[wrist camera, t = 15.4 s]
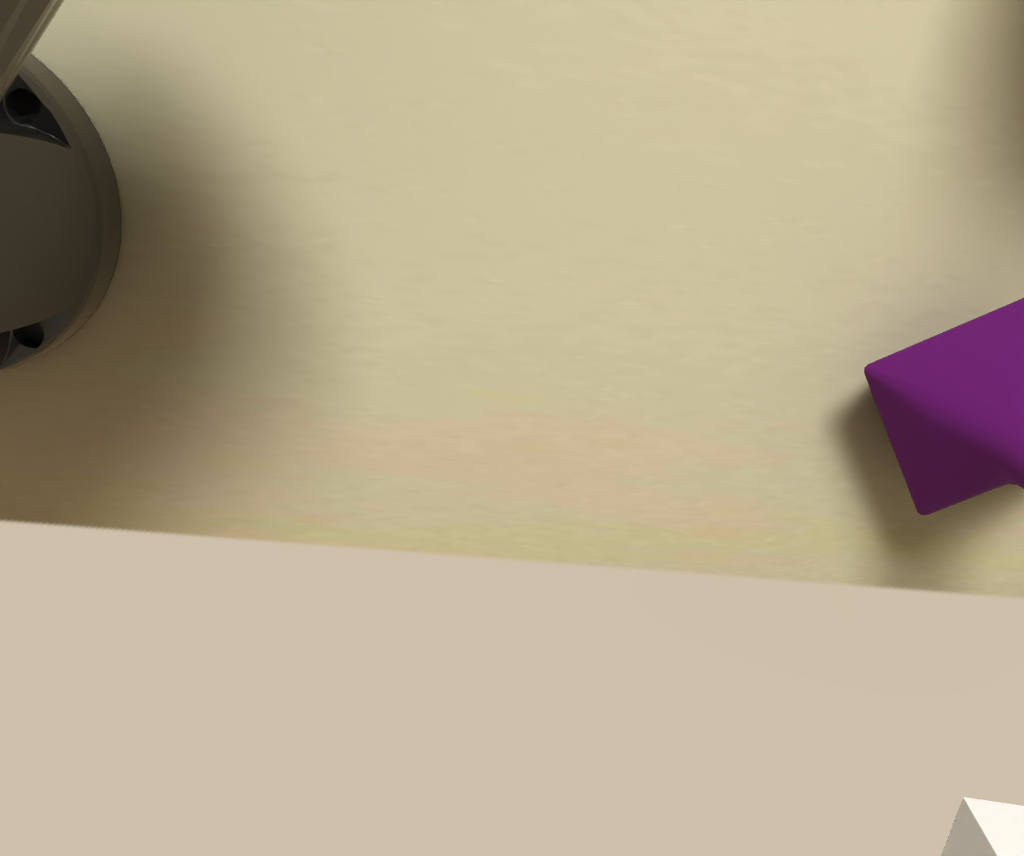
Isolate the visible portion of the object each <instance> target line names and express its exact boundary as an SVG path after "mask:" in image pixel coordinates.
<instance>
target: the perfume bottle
mask: <svg viewBox="0 0 1024 856" xmlns="http://www.w3.org/2000/svg"><path fill="white" fill-rule="evenodd" d="M864 373H865V376H866V379H867V381H868V384H869V386H870V389H871V392H872V394H873V397H874V400H875V402H876V405H877V407H878V410H879V413H880V415H881V418H882V420H883V423H884V426H885V428H886V431H887V433H888V436H889V439H890V441H891V444H892V446H893V449H894V452H895V454H896V457H897V460H898V462H899V465H900V467H901V470H902V473H903V475H904V478H905V480H906V483H907V486H908V488H909V491H910V493H911V496H912V499H913V501H914V504H915V506H916V509H917V512H918V513H919V514H921V515H928V514H931V513H933V512H936V511H938V510H941V509H944V508H946V507H949V506H951V505H954V504H956V503H959V502H961V501H964V500H966V499H969V498H971V497H974V496H977V495H979V494H982V493H984V492H987V491H989V490H992V489H994V488H998V487H1001V486H1004V485H1007V484H1016V485H1019V486H1020V487H1022V488H1023V489H1024V298H1023V299H1020V300H1018V301H1016V302H1013V303H1011V304H1009V305H1006V306H1004V307H1002V308H999V309H997V310H995V311H992V312H990V313H987V314H985V315H983V316H980V317H978V318H976V319H973V320H971V321H969V322H966V323H964V324H962V325H959V326H957V327H955V328H952V329H950V330H948V331H945V332H943V333H941V334H938V335H936V336H934V337H931V338H929V339H927V340H924V341H922V342H920V343H917V344H915V345H913V346H910V347H908V348H905V349H903V350H901V351H898V352H896V353H894V354H891V355H889V356H887V357H884V358H882V359H880V360H877V361H875V362H873V363H870V364H868V365H867V366H866V367H865V370H864Z"/></svg>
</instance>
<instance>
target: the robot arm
mask: <svg viewBox="0 0 1024 856" xmlns="http://www.w3.org/2000/svg"><path fill="white" fill-rule="evenodd" d="M63 1H64V0H0V372H1V371H5V370H8V369H11V368H14V367H17V366H19V365H21V364H24V363H26V362H28V361H30V360H32V359H34V358H36V357H38V356H40V355H42V354H43V353H45V352H47V351H49V350H51V349H53V348H54V347H56V346H58V345H60V344H61V343H62V342H64V341H65V340H67V339H68V338H69V337H71V336H72V335H73V334H74V333H75V332H77V331H78V330H79V329H80V328H81V327H82V326H83V325H84V324H85V322H86V321H87V320H88V319H89V318H90V317H91V315H92V314H93V313H94V311H95V310H96V308H97V307H98V305H99V304H100V302H101V300H102V299H103V297H104V295H105V293H106V291H107V289H108V287H109V284H110V282H111V279H112V276H113V273H114V270H115V266H116V263H117V258H118V253H119V246H120V237H121V212H120V202H119V195H118V189H117V185H116V180H115V176H114V172H113V169H112V166H111V163H110V160H109V157H108V155H107V152H106V150H105V147H104V145H103V143H102V141H101V139H100V136H99V134H98V132H97V131H96V129H95V127H94V125H93V123H92V122H91V120H90V118H89V117H88V115H87V114H86V112H85V110H84V109H83V107H82V106H81V105H80V103H79V102H78V101H77V99H76V98H75V97H74V95H73V94H72V93H71V92H70V91H69V89H68V88H67V87H66V86H65V85H64V84H63V82H62V81H61V80H60V79H59V78H58V77H57V76H56V75H55V74H54V73H53V72H52V71H51V70H50V69H49V68H47V67H46V66H45V65H44V64H43V63H42V62H41V61H39V60H38V59H37V58H36V57H34V56H33V55H32V54H31V52H32V51H33V49H34V47H35V46H36V44H37V43H38V41H39V39H40V38H41V36H42V35H43V33H44V32H45V30H46V28H47V27H48V25H49V24H50V22H51V20H52V19H53V17H54V16H55V14H56V12H57V11H58V9H59V8H60V6H61V4H62V3H63ZM941 856H1024V806H1020V805H1013V804H1006V803H999V802H993V801H985V800H979V799H973V798H966V797H963V799H962V802H961V805H960V807H959V810H958V813H957V815H956V818H955V820H954V823H953V826H952V828H951V831H950V834H949V836H948V839H947V842H946V845H945V847H944V850H943V852H942V855H941Z"/></svg>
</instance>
